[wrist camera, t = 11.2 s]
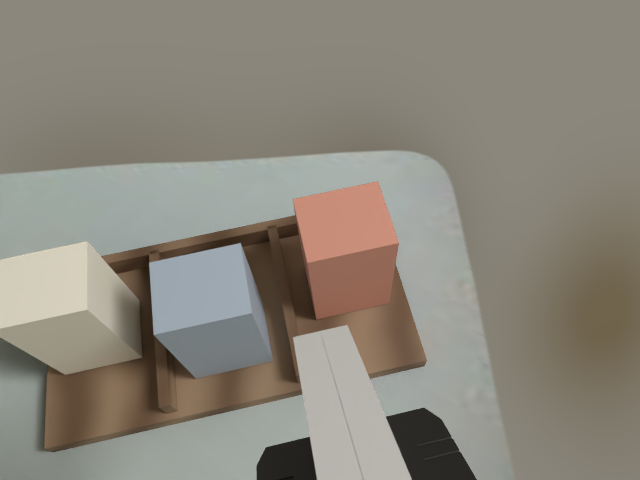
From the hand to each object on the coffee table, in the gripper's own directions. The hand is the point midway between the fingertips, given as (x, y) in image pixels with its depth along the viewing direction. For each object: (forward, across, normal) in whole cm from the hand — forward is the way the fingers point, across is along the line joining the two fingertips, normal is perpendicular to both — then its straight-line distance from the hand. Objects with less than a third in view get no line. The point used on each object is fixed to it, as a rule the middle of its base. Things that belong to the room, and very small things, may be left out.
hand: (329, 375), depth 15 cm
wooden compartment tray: (+29, -6, -10) cm, 31 cm away
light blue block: (+26, -6, -10) cm, 29 cm away
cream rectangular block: (+28, -16, -8) cm, 34 cm away
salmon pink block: (+28, +4, -8) cm, 30 cm away
